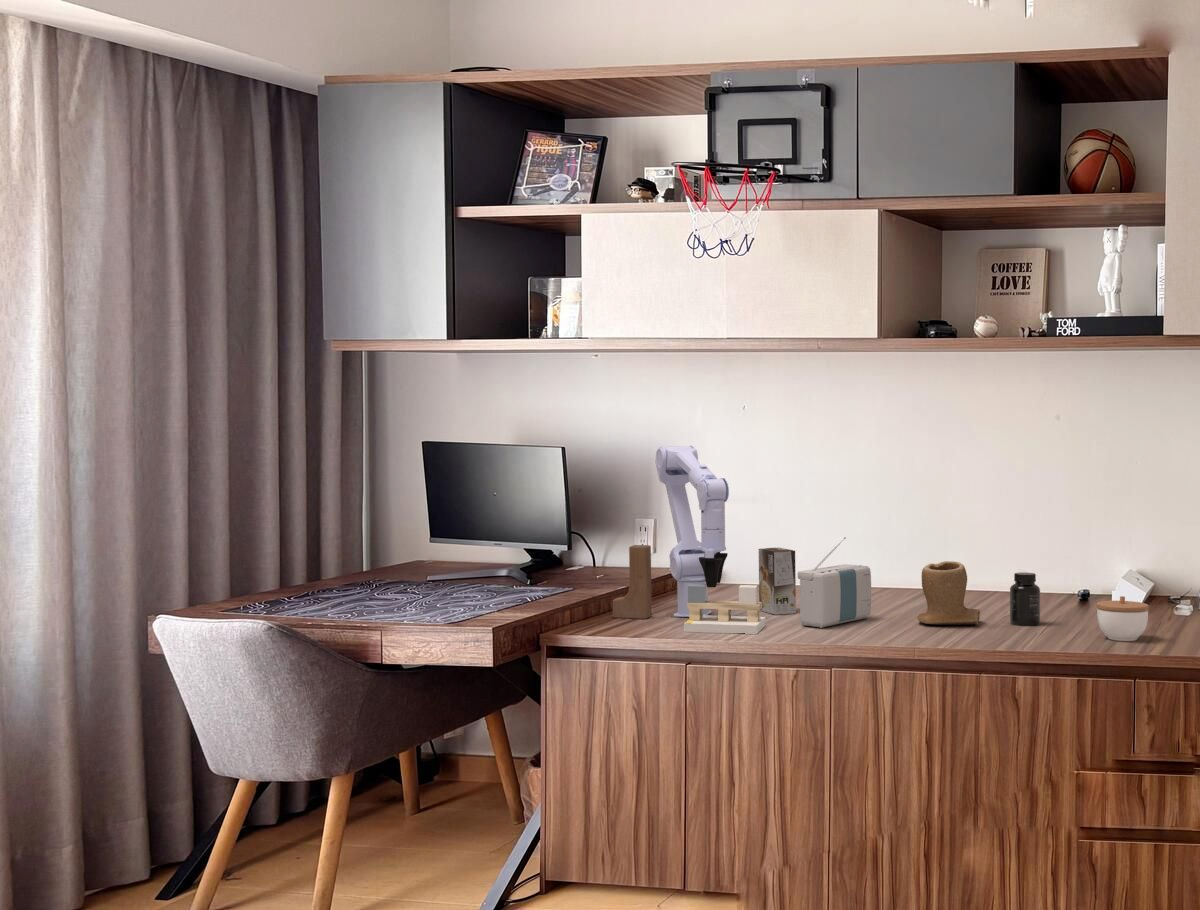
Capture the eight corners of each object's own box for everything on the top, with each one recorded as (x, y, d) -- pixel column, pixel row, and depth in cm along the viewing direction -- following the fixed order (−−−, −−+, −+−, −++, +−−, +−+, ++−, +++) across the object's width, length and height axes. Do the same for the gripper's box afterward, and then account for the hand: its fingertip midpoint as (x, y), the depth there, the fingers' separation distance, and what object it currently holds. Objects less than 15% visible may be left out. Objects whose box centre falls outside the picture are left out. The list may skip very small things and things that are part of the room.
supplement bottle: (1038, 622, 319) (1038, 571, 318) (1041, 626, 312) (1041, 575, 312) (1008, 621, 320) (1008, 571, 320) (1011, 625, 314) (1011, 575, 313)
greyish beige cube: (740, 601, 316) (740, 585, 316) (757, 602, 315) (757, 585, 315) (738, 604, 312) (738, 587, 312) (755, 604, 311) (755, 587, 311)
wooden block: (612, 617, 333) (611, 546, 332) (617, 615, 337) (617, 544, 337) (646, 619, 330) (646, 546, 330) (652, 616, 334) (651, 545, 334)
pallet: (690, 616, 319) (690, 600, 319) (761, 619, 315) (761, 602, 315) (687, 620, 314) (687, 603, 314) (759, 622, 311) (759, 605, 310)
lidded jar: (1149, 636, 297) (1149, 594, 297) (1148, 644, 287) (1148, 600, 287) (1097, 633, 301) (1097, 592, 301) (1095, 641, 291) (1095, 598, 291)
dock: (695, 623, 323) (695, 614, 323) (765, 625, 318) (765, 616, 318) (684, 631, 311) (683, 622, 310) (756, 634, 306) (756, 625, 306)
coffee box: (797, 613, 336) (796, 550, 336) (774, 615, 334) (774, 551, 334) (779, 608, 345) (779, 547, 344) (757, 610, 343) (757, 548, 342)
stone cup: (921, 629, 311) (921, 564, 310) (914, 621, 323) (914, 559, 322) (988, 629, 309) (987, 564, 309) (978, 621, 321) (978, 559, 321)
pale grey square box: (689, 600, 318) (689, 583, 318) (706, 600, 318) (706, 584, 318) (687, 603, 315) (687, 586, 314) (704, 603, 314) (704, 586, 314)
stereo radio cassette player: (824, 630, 311) (823, 544, 311) (795, 626, 317) (794, 542, 316) (873, 619, 326) (872, 537, 326) (844, 616, 332) (844, 535, 331)
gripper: (700, 526, 329) (701, 580, 329) (692, 531, 315) (692, 588, 315) (729, 526, 327) (729, 581, 328) (721, 531, 313) (722, 589, 314)
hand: (713, 584), depth 321 cm, fingers open, 7 cm apart
